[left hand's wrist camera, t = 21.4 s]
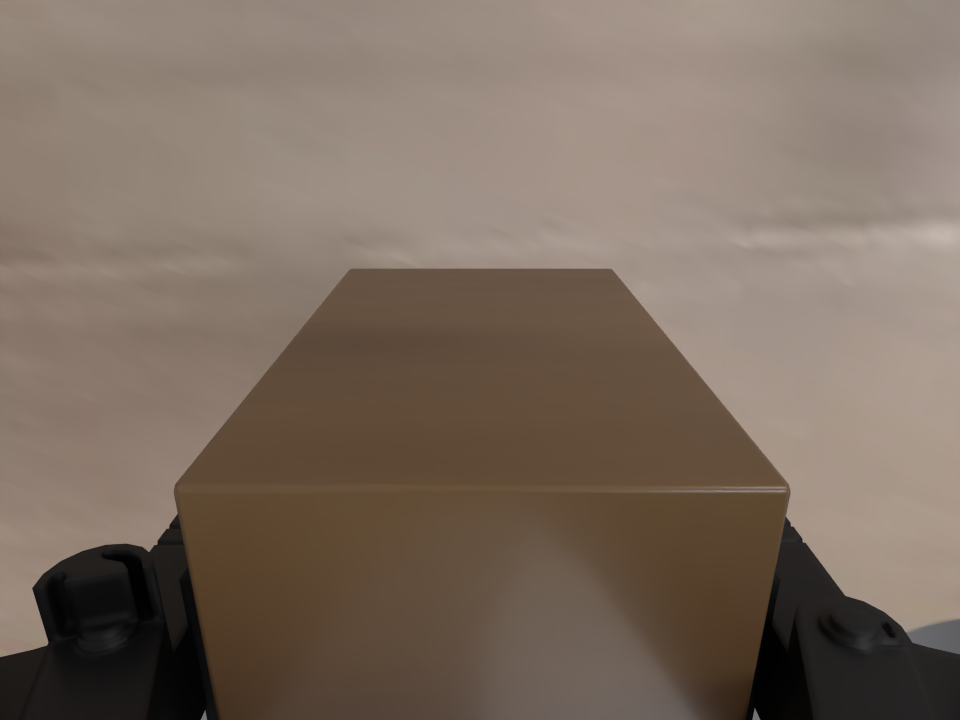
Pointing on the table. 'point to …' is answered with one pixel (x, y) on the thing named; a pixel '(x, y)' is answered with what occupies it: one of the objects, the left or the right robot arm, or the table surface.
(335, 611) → the brick
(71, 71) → the table surface
